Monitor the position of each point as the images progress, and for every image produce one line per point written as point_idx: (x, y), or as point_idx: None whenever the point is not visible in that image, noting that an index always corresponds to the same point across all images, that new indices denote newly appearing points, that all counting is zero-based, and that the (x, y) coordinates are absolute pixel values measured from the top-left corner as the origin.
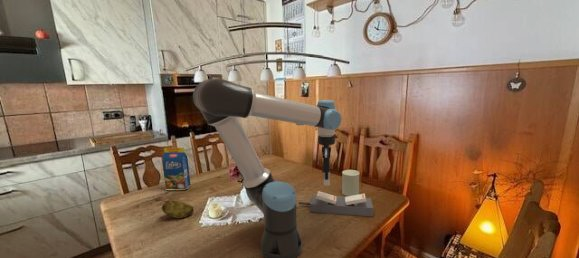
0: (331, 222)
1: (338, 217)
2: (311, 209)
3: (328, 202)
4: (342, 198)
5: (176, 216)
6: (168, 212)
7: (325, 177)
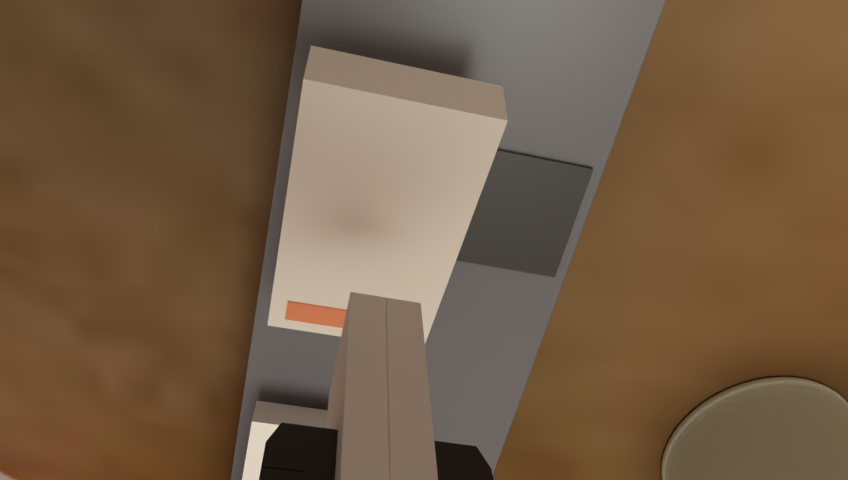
0: (70, 151)
1: (194, 244)
2: None
3: None
4: (463, 388)
5: None
6: None
7: (261, 476)
